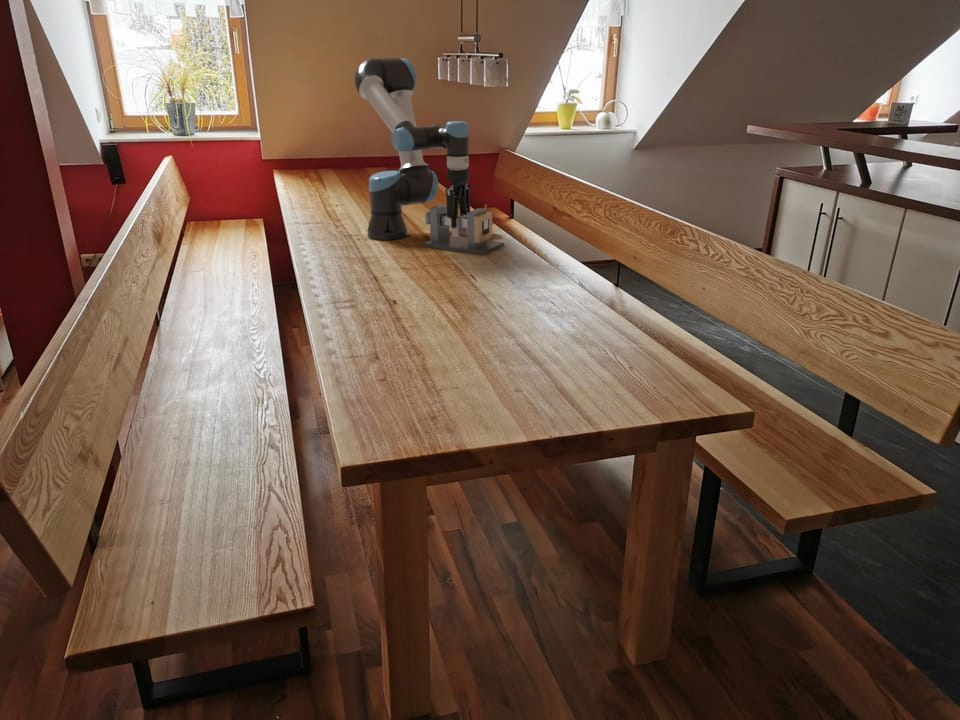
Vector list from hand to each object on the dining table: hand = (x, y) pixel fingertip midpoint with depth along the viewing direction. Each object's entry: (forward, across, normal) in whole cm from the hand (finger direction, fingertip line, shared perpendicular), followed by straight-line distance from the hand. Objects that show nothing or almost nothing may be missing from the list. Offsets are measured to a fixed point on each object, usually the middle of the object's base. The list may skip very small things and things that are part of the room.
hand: (459, 234), depth 269 cm
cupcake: (+4, +19, +2) cm, 20 cm away
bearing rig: (+4, 0, -2) cm, 5 cm away
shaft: (-3, 0, +1) cm, 3 cm away
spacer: (-4, 0, -10) cm, 11 cm away
